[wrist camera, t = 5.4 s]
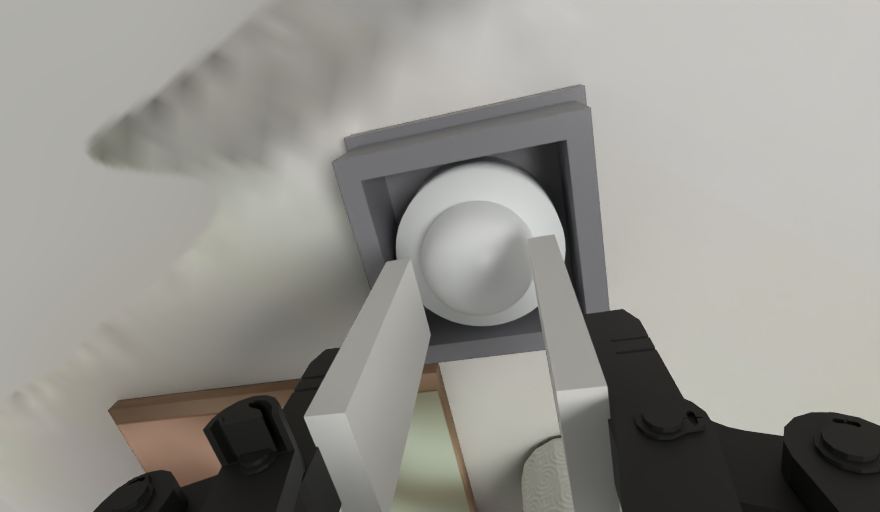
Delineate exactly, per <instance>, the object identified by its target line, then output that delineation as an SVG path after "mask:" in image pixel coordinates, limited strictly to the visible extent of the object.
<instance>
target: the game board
mask: <svg viewBox="0 0 880 512" xmlns="http://www.w3.org/2000/svg"><path fill="white" fill-rule="evenodd" d="M301 380H302V379H296V380H288V381H280V382H271V383H263V384H254V385H246V386H238V387H229V388H221V389H212V390H204V391H195V392H187V393H179V394H170V395H162V396H153V397H145V398H136V399H128V400H120V401H118V402H116V403H115V404H114V405H113V406H112V407H111V408H110V409H109V410H108V412H109V413H110V415H111V416H112V418H113V420H114V421H115V423H116V425H117V426H118V428H119V430H120V431H121V433H122V434H123V436H124V438H125V439H126V441H127V443H128V444H129V446H130V448H131V449H132V451H133V452H134V454H135V456H136V457H137V459H138V461H139V462H140V464H141V465H142V467H143V469H144V470H145V472H146V473H147V472H152V471H157V470H166V471H170V472H172V474H173V475H174V477H175V479H176V480H177V482H178V484H179V485H180V487H183V486H186V485H189V484H192V483H195V482H198V481H200V480H203V479H206V478H209V477H212V476H215V475H218V473H219V471H220V469H221V467H222V466H221V464H220V462H219V460H218V458H217V456H216V455H215V453H214V451H213V449H212V447H211V445H210V443H209V441H208V439H207V437H206V436H205V434H204V432H203V429H204V428H205V427H206V425H207V424H208V423H209V422H210V420H211V419H212V418H213V417H215V416H216V415H217V414H218V413H220V412H221V411H222V410H223V409H225V408H227V407H229V406H230V405H232V404H234V403H236V402H238V401H240V400H243V399H246V398H249V397H252V396H260V395H268V396H272V397H275V398H276V399H277V401H278V402H279V403H280V405H281V408H282V409H283V407H284V406H285V404H286V402H287V401H288V399H289V398H290V396H291V394H292V393H294V389H295V388H296V386H297V384H298V383H299V381H301ZM339 512H343V511H342V508H340V511H339ZM390 512H477V508H476V505H475V501H474V497H473V493H472V489H471V486H470V482H469V478H468V474H467V471H466V467H465V463H464V459H463V455H462V452H461V448H460V444H459V440H458V436H457V433H456V429H455V425H454V421H453V418H452V414H451V410H450V406H449V402H448V399H447V395H446V391H445V387H444V383H443V380H442V376H441V372H440V368H439V364H438V363H431V364H424V367H423V371H422V375H421V380H420V384H419V389H418V393H417V397H416V402H415V406H414V410H413V415H412V419H411V423H410V428H409V432H408V436H407V441H406V445H405V449H404V454H403V458H402V463H401V467H400V471H399V476H398V480H397V484H396V489H395V493H394V497H393V502H392V506H391V510H390Z"/></svg>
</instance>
